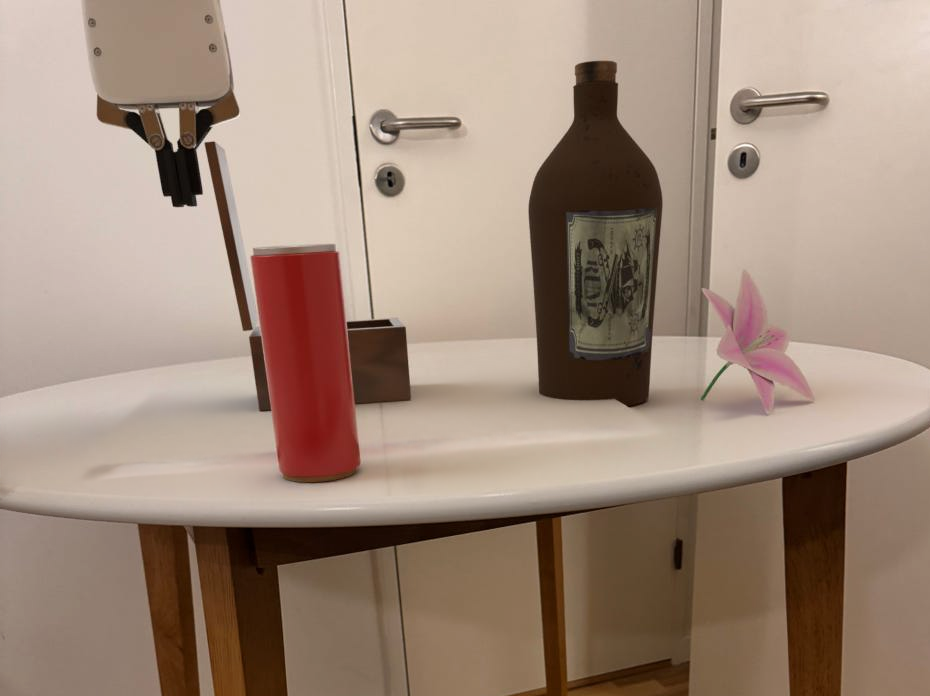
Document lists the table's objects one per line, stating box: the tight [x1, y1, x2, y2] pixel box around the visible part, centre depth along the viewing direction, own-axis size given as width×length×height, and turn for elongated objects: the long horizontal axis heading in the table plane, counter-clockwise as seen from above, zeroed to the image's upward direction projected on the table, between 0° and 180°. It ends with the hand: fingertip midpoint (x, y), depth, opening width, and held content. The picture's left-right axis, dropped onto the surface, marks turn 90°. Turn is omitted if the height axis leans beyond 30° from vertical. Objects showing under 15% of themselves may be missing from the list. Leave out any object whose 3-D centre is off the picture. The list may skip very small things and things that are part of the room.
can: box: [249, 243, 362, 477], centre depth 58 cm, size 5×5×13 cm
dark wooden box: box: [248, 317, 412, 413], centre depth 82 cm, size 13×8×7 cm, turn 99°
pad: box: [282, 467, 358, 483], centre depth 61 cm, size 5×5×1 cm
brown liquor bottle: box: [527, 60, 664, 407], centre depth 75 cm, size 11×11×25 cm
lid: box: [204, 140, 259, 332], centre depth 76 cm, size 14×8×1 cm
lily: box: [700, 269, 816, 416], centre depth 75 cm, size 12×12×10 cm
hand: (185, 205), depth 75 cm, fingers closed
